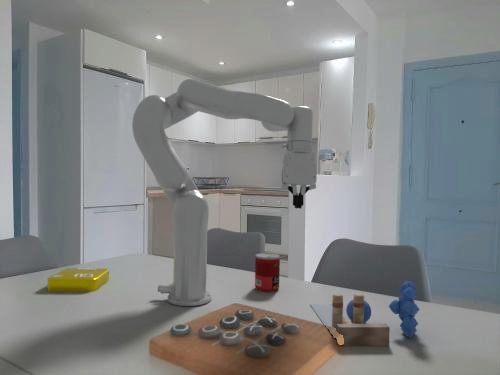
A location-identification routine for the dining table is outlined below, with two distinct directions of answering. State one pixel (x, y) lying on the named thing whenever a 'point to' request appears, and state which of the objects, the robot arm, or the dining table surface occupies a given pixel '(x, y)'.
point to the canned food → (267, 272)
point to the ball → (366, 311)
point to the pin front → (346, 321)
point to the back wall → (364, 334)
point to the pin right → (358, 309)
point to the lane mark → (326, 313)
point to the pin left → (337, 310)
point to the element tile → (78, 280)
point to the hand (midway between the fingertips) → (297, 207)
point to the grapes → (406, 308)
